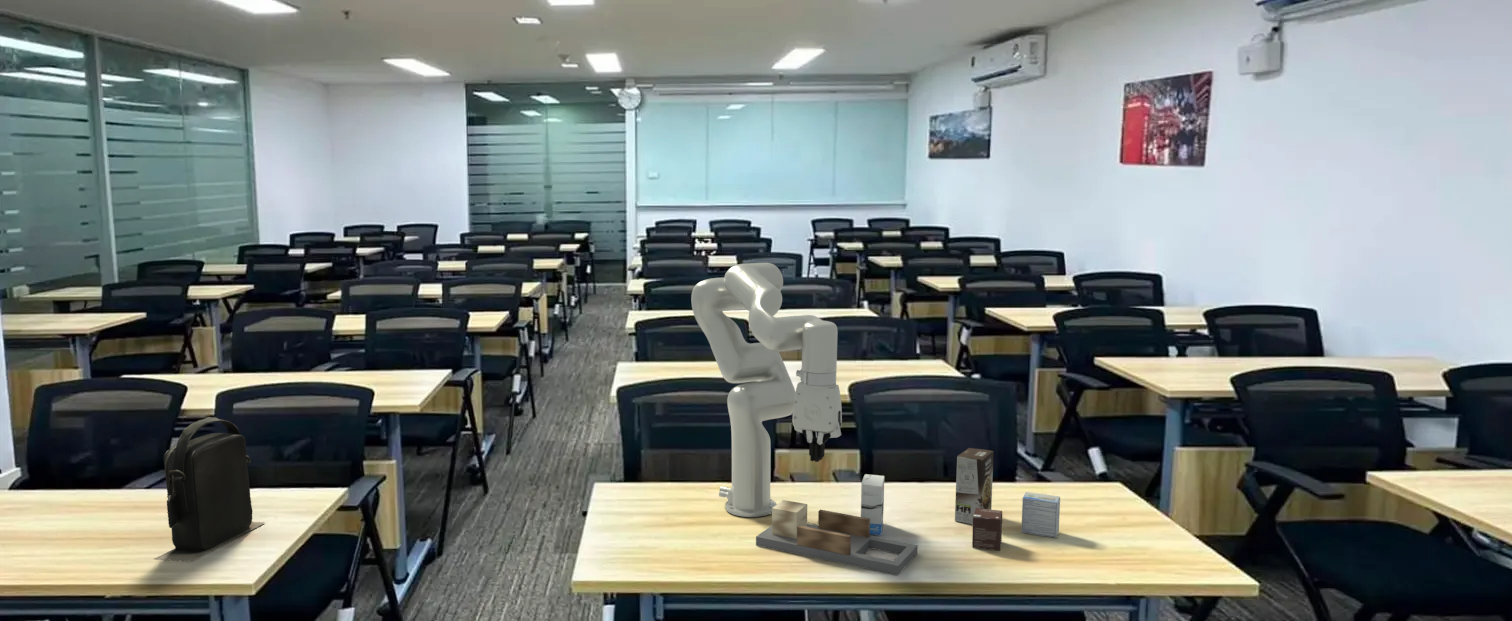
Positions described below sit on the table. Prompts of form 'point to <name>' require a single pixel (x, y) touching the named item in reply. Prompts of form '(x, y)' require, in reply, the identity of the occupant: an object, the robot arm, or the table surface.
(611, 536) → the table surface
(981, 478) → the coffee box
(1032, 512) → the medicine box
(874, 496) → the ink box
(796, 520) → the maple block
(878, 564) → the deck
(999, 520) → the box
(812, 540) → the tunnel walls
